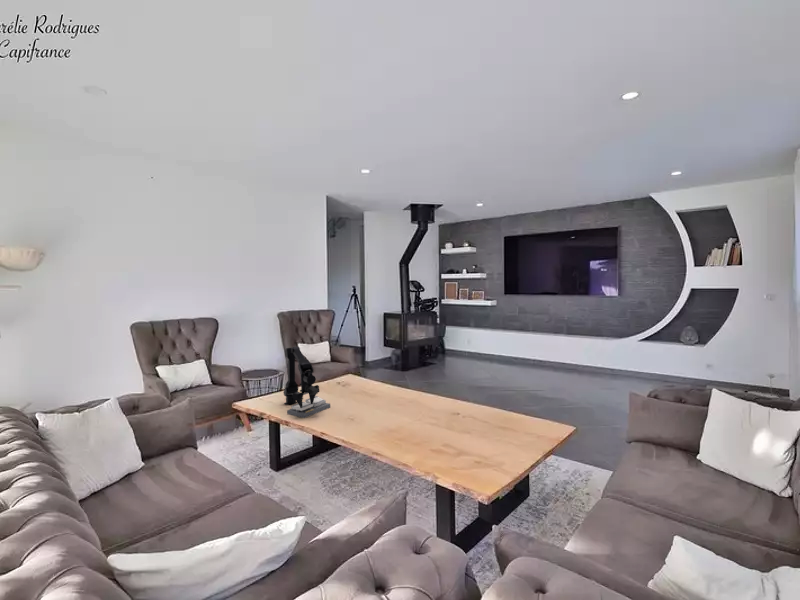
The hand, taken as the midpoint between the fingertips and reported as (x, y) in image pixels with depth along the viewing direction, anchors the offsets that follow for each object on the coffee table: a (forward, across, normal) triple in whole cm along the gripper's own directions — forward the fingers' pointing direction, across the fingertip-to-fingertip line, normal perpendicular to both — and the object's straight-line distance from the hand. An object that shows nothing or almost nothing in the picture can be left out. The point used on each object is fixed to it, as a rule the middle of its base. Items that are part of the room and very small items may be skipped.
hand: (306, 406), depth 257 cm
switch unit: (+5, +6, +4) cm, 9 cm away
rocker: (+1, +12, +4) cm, 13 cm away
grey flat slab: (+1, 0, +4) cm, 4 cm away
